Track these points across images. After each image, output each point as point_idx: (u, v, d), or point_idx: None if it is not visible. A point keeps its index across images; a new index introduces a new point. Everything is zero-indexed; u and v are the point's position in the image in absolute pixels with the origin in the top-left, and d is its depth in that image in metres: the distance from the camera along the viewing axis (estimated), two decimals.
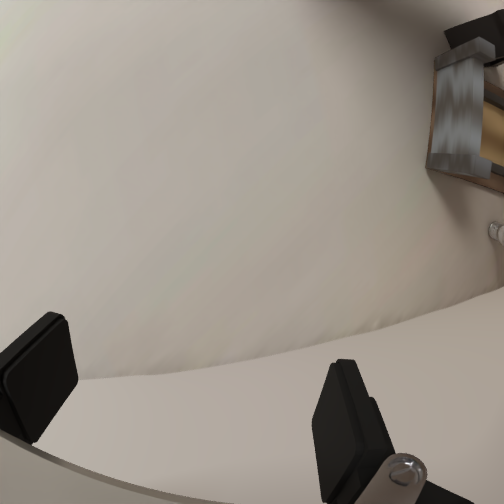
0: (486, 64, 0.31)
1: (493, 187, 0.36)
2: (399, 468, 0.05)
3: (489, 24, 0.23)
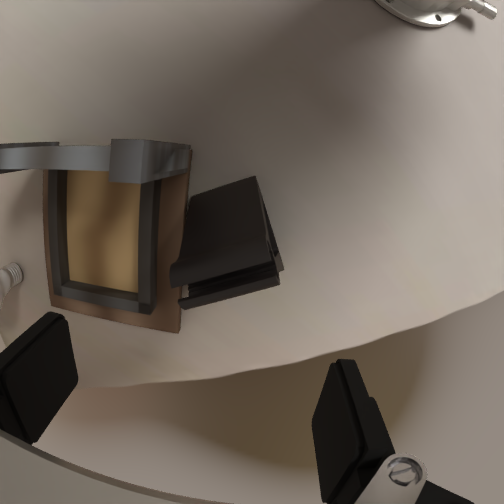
0: None
1: (47, 261, 0.30)
2: (399, 468, 0.05)
3: (245, 229, 0.21)
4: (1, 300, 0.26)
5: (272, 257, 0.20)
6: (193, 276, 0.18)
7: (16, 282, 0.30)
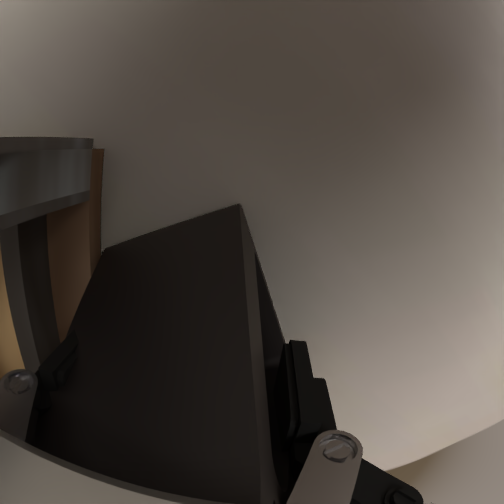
0: None
1: None
2: (332, 445, 0.06)
3: (189, 432, 0.05)
4: None
5: None
6: None
7: None
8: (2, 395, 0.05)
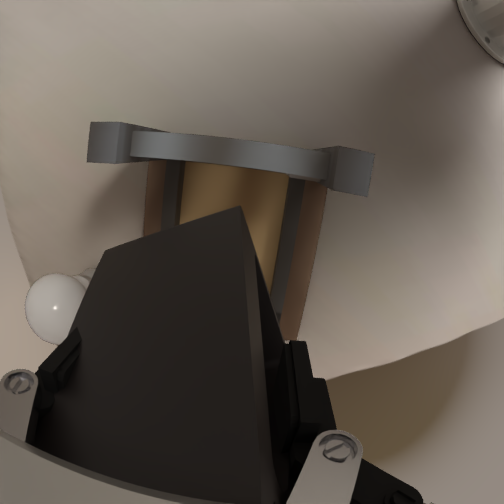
0: None
1: None
2: (331, 445, 0.06)
3: (189, 435, 0.05)
4: None
5: None
6: None
7: None
8: (2, 395, 0.05)
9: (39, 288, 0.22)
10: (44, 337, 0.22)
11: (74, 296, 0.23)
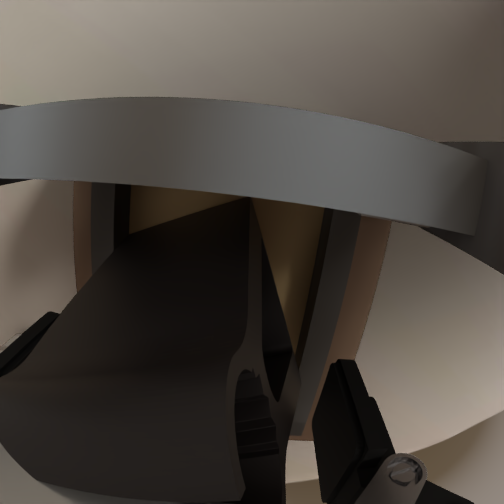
0: None
1: None
2: (399, 468, 0.05)
3: (186, 313, 0.06)
4: None
5: (266, 415, 0.05)
6: None
7: None
8: None
9: None
10: None
11: None
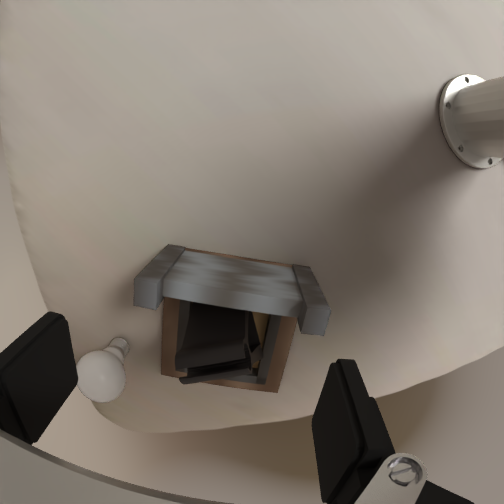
0: None
1: (163, 342, 0.39)
2: (399, 468, 0.05)
3: (231, 331, 0.28)
4: None
5: (248, 353, 0.27)
6: (191, 363, 0.25)
7: (125, 356, 0.39)
8: None
9: (89, 366, 0.30)
10: (94, 399, 0.30)
11: (116, 371, 0.32)
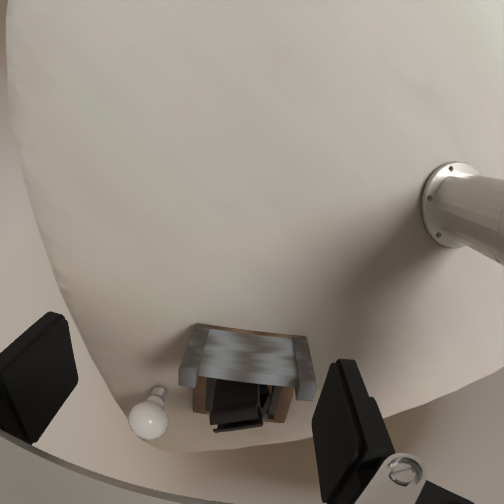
0: None
1: (194, 390, 0.48)
2: (399, 468, 0.05)
3: (247, 395, 0.38)
4: None
5: (260, 411, 0.36)
6: (221, 421, 0.34)
7: None
8: None
9: (141, 416, 0.40)
10: (145, 438, 0.40)
11: (161, 417, 0.42)
